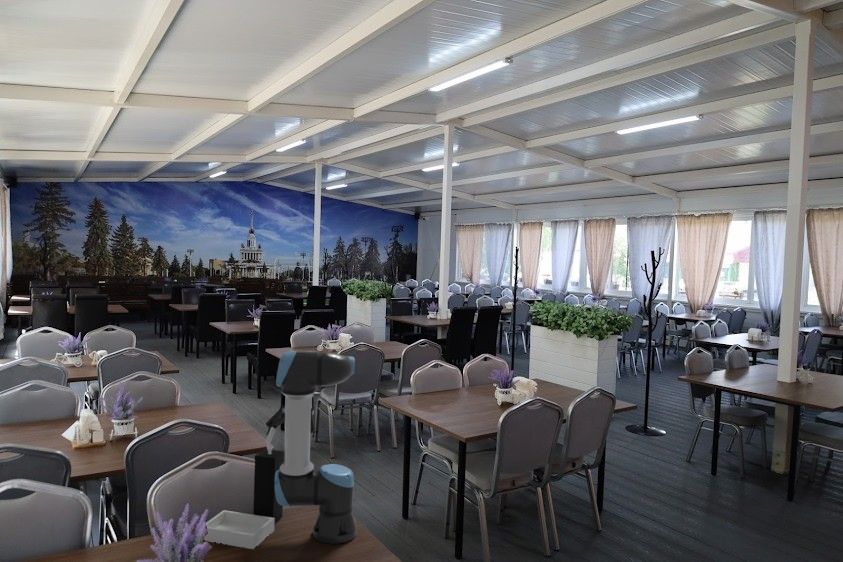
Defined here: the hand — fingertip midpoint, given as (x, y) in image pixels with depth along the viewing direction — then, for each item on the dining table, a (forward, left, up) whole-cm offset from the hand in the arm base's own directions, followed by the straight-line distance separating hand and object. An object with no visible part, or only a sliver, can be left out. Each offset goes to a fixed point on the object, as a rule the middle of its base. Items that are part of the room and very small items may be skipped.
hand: (283, 446), depth 225 cm
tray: (+4, +24, -24) cm, 34 cm away
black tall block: (0, +11, -24) cm, 27 cm away
